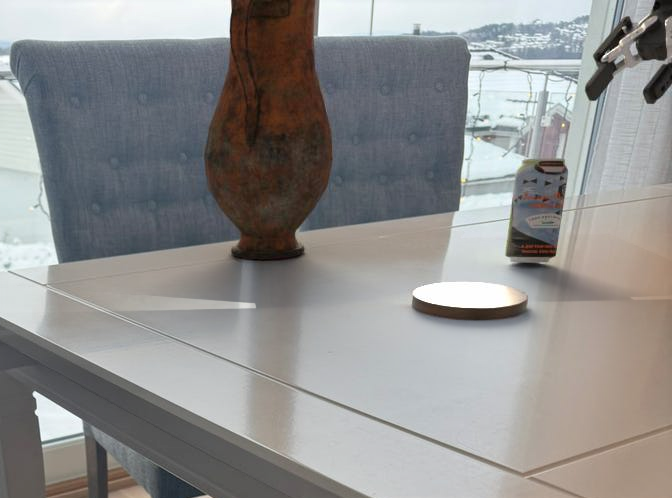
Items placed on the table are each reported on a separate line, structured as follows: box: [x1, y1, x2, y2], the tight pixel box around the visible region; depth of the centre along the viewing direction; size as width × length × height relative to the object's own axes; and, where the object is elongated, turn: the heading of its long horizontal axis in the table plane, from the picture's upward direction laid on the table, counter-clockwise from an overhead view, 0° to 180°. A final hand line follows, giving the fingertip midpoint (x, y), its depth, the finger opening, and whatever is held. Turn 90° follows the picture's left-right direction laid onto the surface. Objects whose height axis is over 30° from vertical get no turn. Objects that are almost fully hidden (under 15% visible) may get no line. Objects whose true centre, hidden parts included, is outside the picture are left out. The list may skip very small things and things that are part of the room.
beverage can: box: [504, 157, 569, 264], centre depth 114 cm, size 6×7×12 cm
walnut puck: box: [411, 281, 529, 321], centre depth 92 cm, size 11×11×3 cm
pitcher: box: [203, 0, 334, 261], centre depth 117 cm, size 17×21×30 cm
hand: (617, 97), depth 112 cm, fingers open, 8 cm apart
